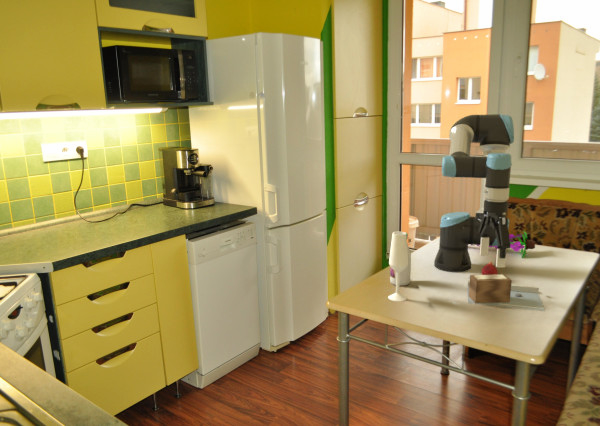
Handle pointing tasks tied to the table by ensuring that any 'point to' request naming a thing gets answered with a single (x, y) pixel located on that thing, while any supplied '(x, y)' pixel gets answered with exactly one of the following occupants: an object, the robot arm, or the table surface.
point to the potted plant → (517, 245)
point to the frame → (490, 288)
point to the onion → (489, 269)
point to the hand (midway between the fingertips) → (491, 261)
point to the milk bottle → (405, 273)
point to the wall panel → (518, 298)
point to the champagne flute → (398, 260)
